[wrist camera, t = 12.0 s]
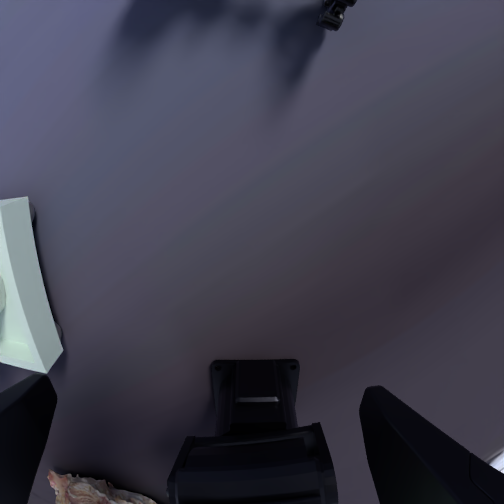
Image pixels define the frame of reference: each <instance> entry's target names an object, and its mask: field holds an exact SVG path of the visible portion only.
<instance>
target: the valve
mask: <svg viewBox="0 0 504 504" xmlns="http://www.w3.org/2000/svg"><path fill="white" fill-rule="evenodd" d="M356 1H357V0H324V2H323V6H325V7H327V8H328V9H327V12H325V13H324V14H323V15H322V14H320V15H319V17H318V20H317V22H316V25H318V26H321V27H323V28H326V29H328V30H330V31H332V30H334V31H337V30H338V29H339V28H340V26H341V24H342V22H343V19H344V14H343V13H344V11H345V9H346V8H347V6H349V7H353V6H354V4H355V3H356Z"/></svg>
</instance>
